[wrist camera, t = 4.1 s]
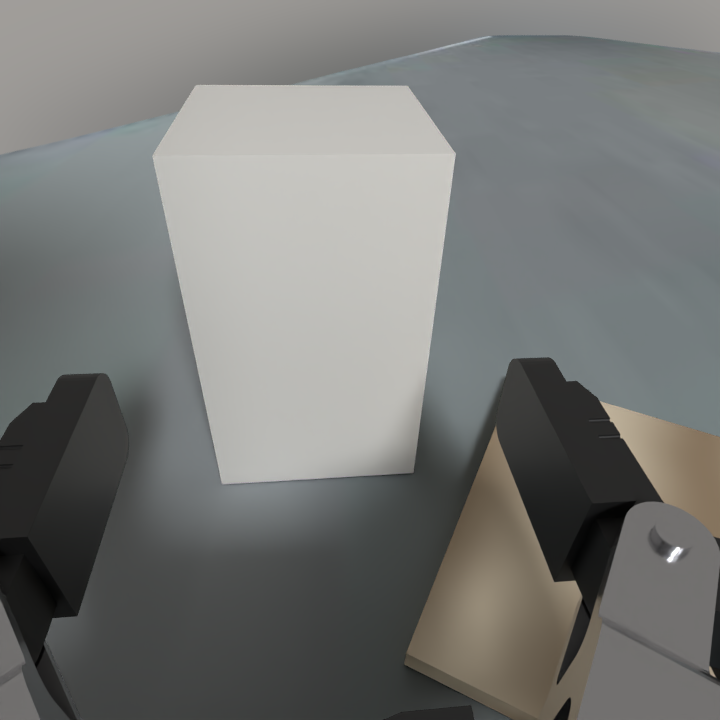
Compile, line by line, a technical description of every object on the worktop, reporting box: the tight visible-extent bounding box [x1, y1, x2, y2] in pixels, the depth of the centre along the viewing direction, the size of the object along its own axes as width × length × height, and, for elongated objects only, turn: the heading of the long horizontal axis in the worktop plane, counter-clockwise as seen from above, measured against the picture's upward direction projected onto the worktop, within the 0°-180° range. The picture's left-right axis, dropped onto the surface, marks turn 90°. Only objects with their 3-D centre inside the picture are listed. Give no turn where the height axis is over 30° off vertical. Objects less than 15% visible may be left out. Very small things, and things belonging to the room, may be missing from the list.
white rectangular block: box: [153, 85, 455, 484], centre depth 16 cm, size 6×6×10 cm
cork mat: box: [404, 402, 720, 720], centre depth 15 cm, size 11×11×1 cm
